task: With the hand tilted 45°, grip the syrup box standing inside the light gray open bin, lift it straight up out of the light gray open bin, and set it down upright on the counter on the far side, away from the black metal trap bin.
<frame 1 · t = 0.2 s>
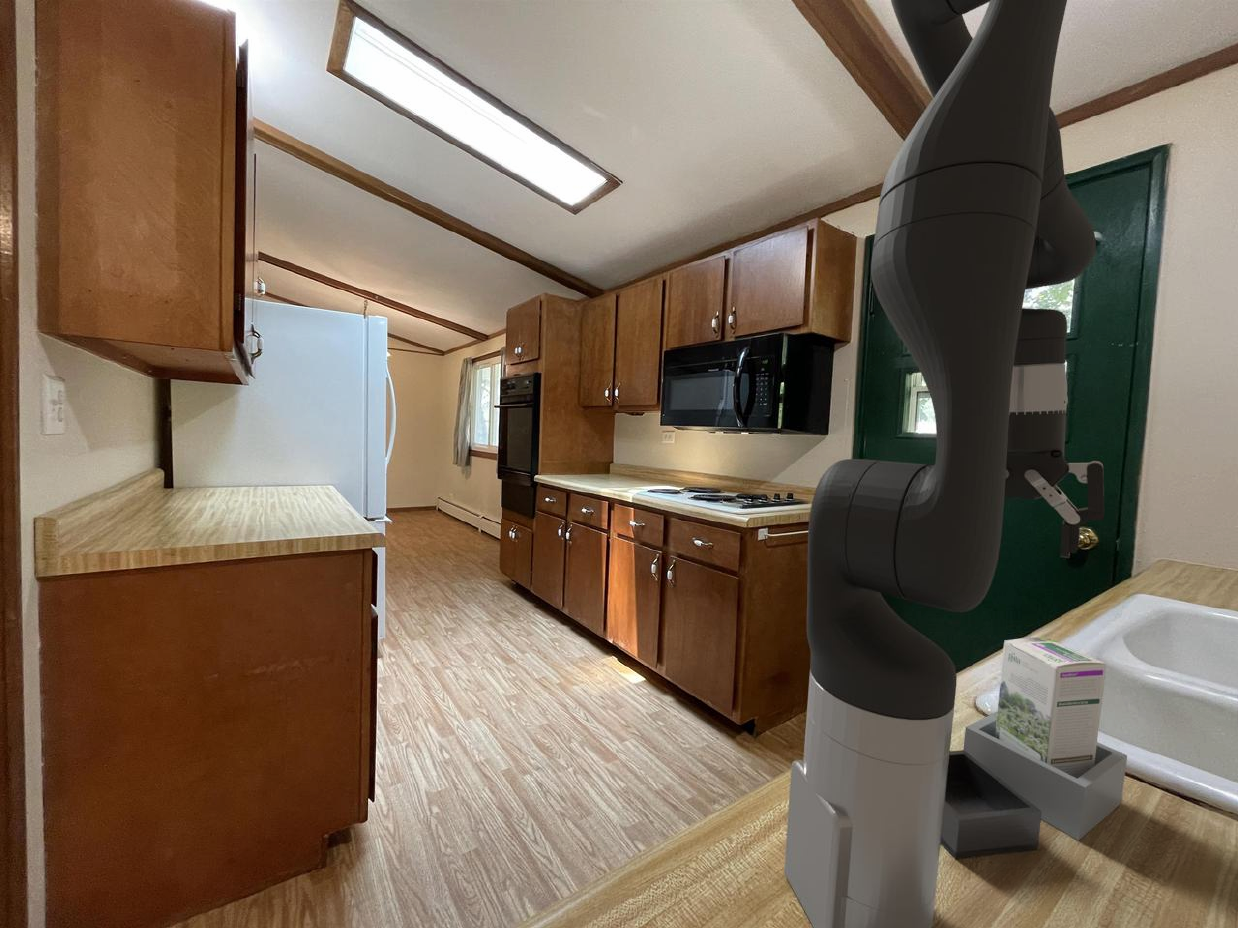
hand: (1015, 549, 58), 22 cm above the counter, tool pointing down, fingers open, 8 cm apart
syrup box: (1037, 789, 51), resting in light gray open bin
trap bin: (958, 816, 46), on the counter
light gray open bin: (1038, 787, 51), on the counter
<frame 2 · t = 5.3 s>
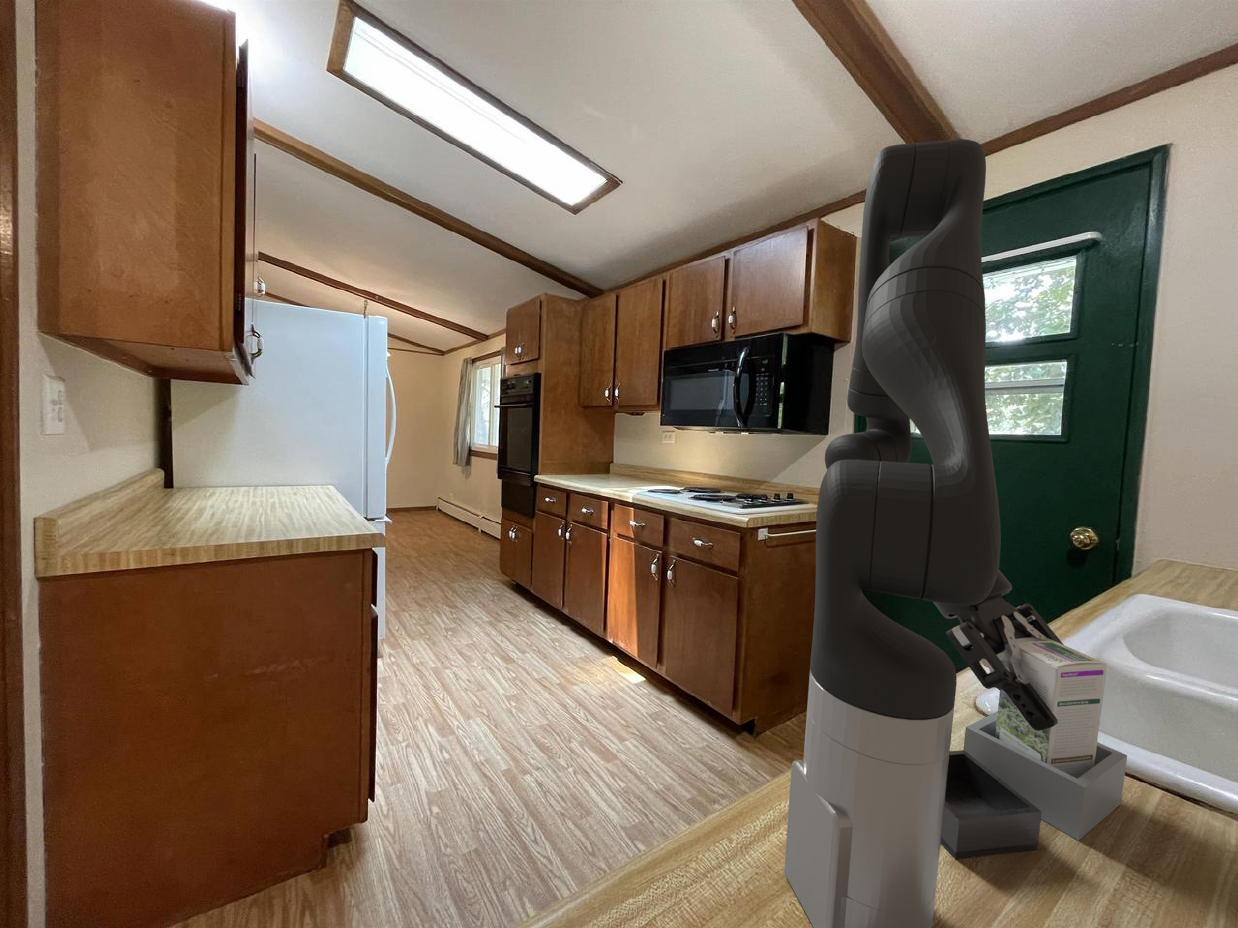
hand: (1066, 716, 49), 8 cm above the counter, tool tilted 45°, fingers closed on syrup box, 7 cm apart
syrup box: (1037, 789, 51), resting in light gray open bin, touching gripper
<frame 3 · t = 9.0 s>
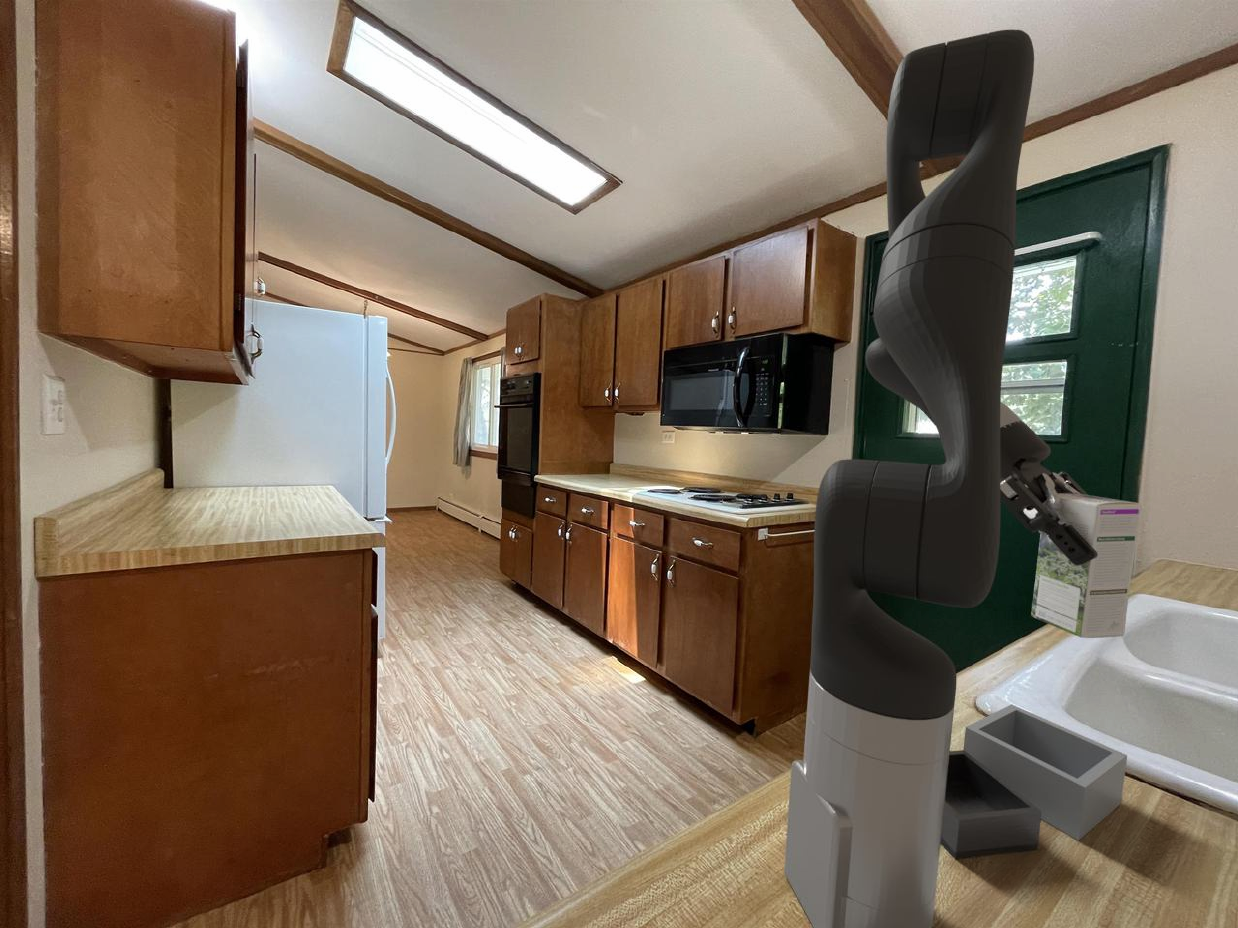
hand: (1103, 556, 53), 23 cm above the counter, tool tilted 45°, fingers closed on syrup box, 7 cm apart
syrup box: (1074, 628, 55), point 14 cm above the counter, touching gripper
when the fingers open (9 cm above the counter, at t = 12.6 s): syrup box stays where it is, on the counter.
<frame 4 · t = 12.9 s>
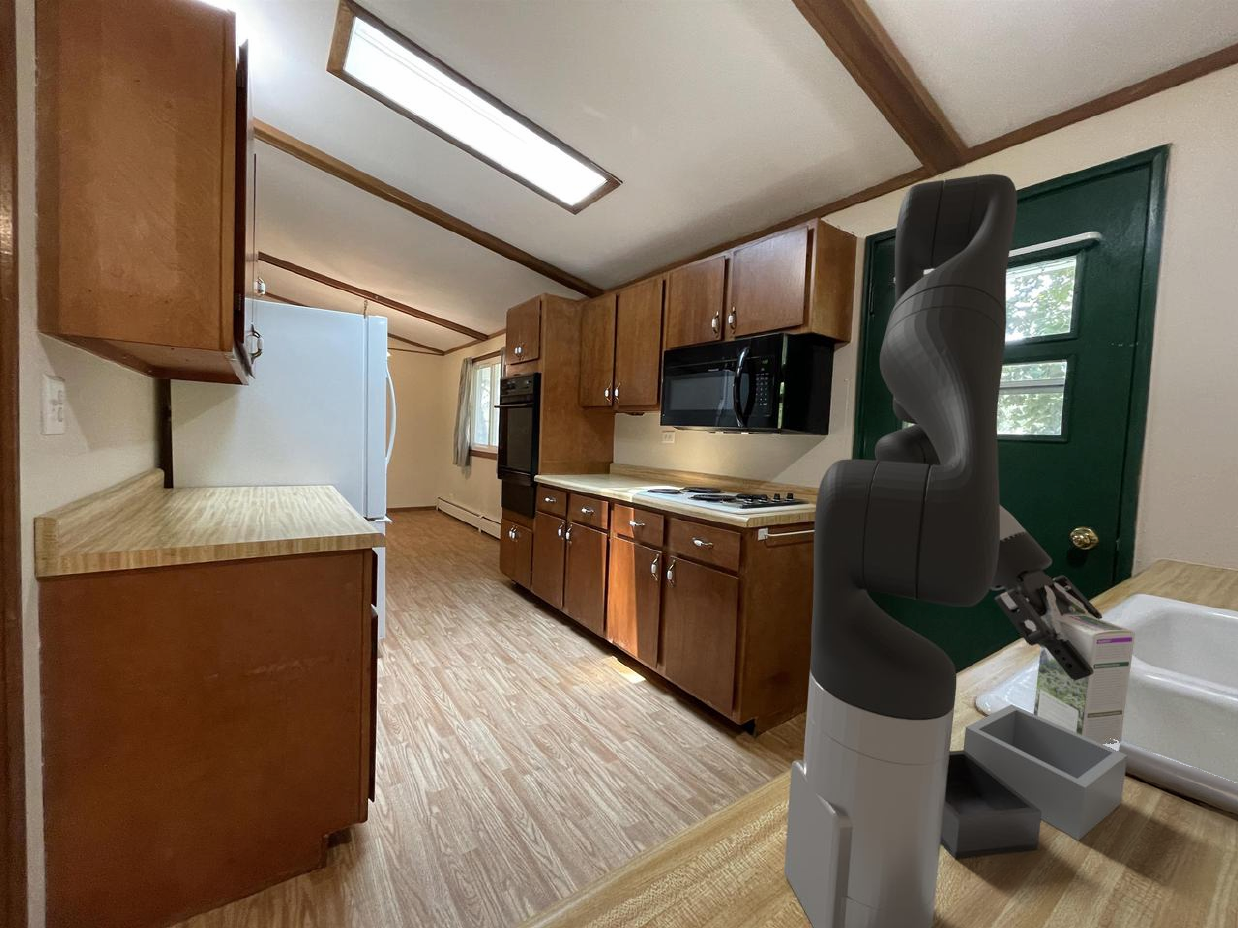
hand: (1100, 668, 57), 9 cm above the counter, tool tilted 45°, fingers open, 8 cm apart
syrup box: (1073, 742, 59), on the counter
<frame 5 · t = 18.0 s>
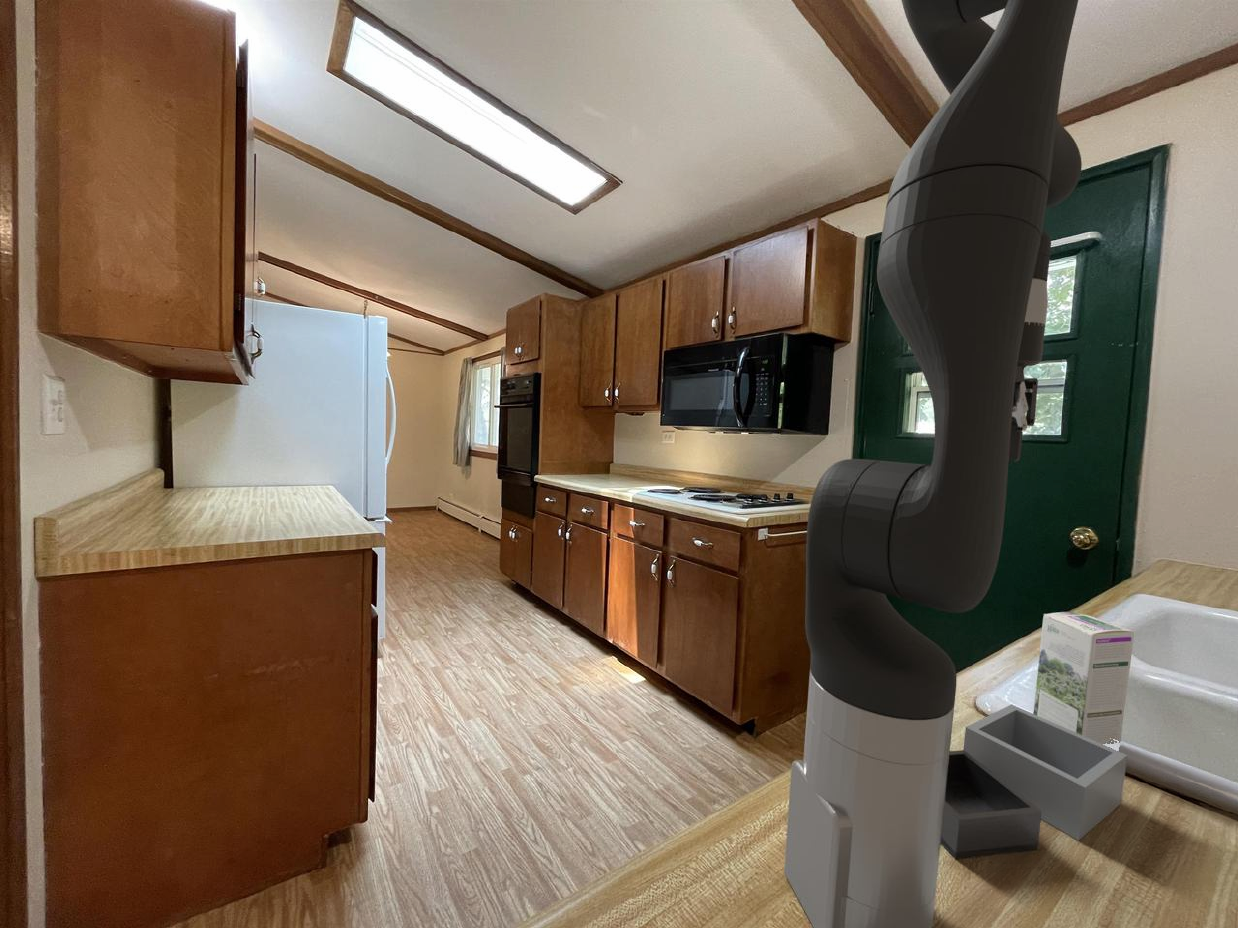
hand: (990, 460, 61), 32 cm above the counter, tool pointing down, fingers open, 8 cm apart
nothing on the counter moved.
at the end: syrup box inside the target area (0.2 cm from its centre), on the counter; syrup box tilted 0°; the gripper is holding nothing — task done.
